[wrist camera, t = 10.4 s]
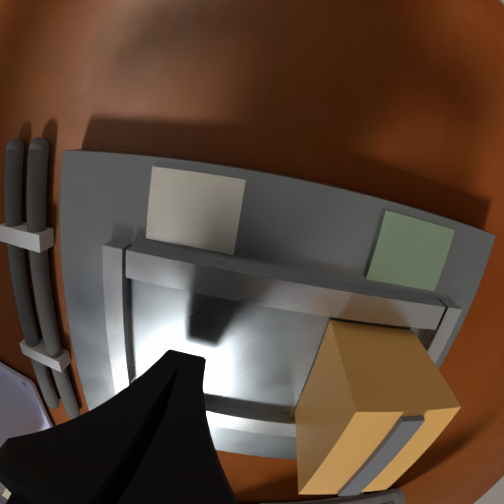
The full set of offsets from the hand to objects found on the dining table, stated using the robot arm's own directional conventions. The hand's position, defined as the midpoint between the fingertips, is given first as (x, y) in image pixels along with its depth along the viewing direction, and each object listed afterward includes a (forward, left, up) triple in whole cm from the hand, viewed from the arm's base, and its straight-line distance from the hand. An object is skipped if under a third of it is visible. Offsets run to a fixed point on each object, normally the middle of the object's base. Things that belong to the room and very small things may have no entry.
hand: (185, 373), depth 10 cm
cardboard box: (+7, 0, -1) cm, 7 cm away
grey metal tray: (+3, 0, -3) cm, 4 cm away
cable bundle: (-9, -1, -3) cm, 9 cm away
